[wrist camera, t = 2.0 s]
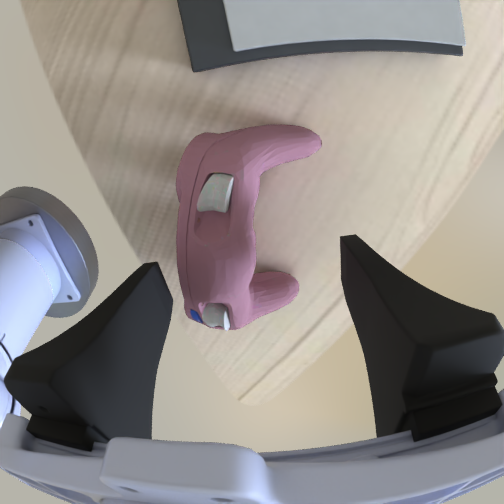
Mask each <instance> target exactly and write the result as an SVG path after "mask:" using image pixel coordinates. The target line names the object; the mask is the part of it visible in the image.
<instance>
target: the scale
mask: <svg viewBox="0 0 504 504" xmlns="http://www.w3.org/2000/svg"><path fill="white" fill-rule="evenodd" d="M177 1H178V6H179V11H180V15H181V20H182V25H183V29H184V34H185V39H186V43H187V48H188V52H189V57H190V61H191V66H192V70H193V72H201V71H206V70H210V69H215V68H220V67H224V66H230V65H235V64H240V63H246V62H252V61H258V60H265V59H272V58H279V57H287V56H296V55H306V54H318V53H333V52H357V51H394V52H417V53H432V54H443V55H455V56H463V50H462V46H466V41H465V33H464V26H463V19H462V13H461V7H460V2H459V0H177Z"/></svg>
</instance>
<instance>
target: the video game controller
mask: <svg viewBox="0 0 504 504" xmlns="http://www.w3.org/2000/svg"><path fill="white" fill-rule="evenodd" d="M321 146H322V140H321V138H320V137H319V135H317V134H316V133H314V132H313V131H311V130H309V129H307V128H304V127H301V126H295V125H277V124H271V125H263V126H255V127H248V128H244V129H239V130H235V131H230V132H226V133H221V134H216V133H202V134H200V135H198V136H196V137H195V138H194V139H193V140H192V141H191V142H190V143H189V144H188V146H187V147H186V149H185V151H184V153H183V155H182V158H181V161H180V164H179V167H178V170H177V177H176V190H177V195H178V199H179V202H180V206H179V212H178V223H177V237H176V245H177V267H178V274H179V280H180V285H181V289H182V293H183V297H184V308H185V312H186V315H187V316H188V318H190V319H192V320H194V321H197V322H199V323H201V324H204V325H206V326H208V327H210V328H215V329H225V330H226V331H227V330H236V329H240V328H242V327H244V326H245V325H247V324H249V323H250V322H252V321H254V320H255V319H257V318H259V317H261V316H263V315H266V314H268V313H270V312H273V311H275V310H278V309H280V308H282V307H283V306H285V305H287V304H289V303H290V302H291V301H292V300H293V299H294V298H295V297H296V296H297V294H298V291H299V283H298V281H297V280H296V279H295V278H294V277H293V276H291V275H290V274H286V273H283V272H261V273H255V274H253V273H254V270H255V266H256V247H255V245H256V235H255V232H254V230H253V217H254V209H255V204H256V201H257V198H258V194H259V188H260V178H259V177H260V175H261V174H262V173H263V172H265V171H267V170H268V169H270V168H273V167H275V166H277V165H280V164H282V163H286V162H290V161H294V160H298V159H302V158H306V157H309V156H310V155H312V154H313V153H315V152H316V151H318V150H319V149H320V148H321Z"/></svg>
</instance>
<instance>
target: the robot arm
mask: <svg viewBox="0 0 504 504" xmlns="http://www.w3.org/2000/svg"><path fill="white" fill-rule="evenodd" d="M31 221H32V222H33V223H32V222H31ZM340 249H341V281H342V285H343V290H344V294H345V299H346V302H347V305H348V308H349V311H350V314H351V317H352V320H353V322H354V325H355V328H356V331H357V334H358V337H359V340H360V343H361V346H362V349H363V353H364V357H365V362H366V367H367V372H368V377H369V383H370V389H371V395H372V402H373V409H374V416H375V424H376V434H377V438H374V439H369V440H364V441H358V442H353V443H347V444H341V445H334V446H327V447H320V448H311V449H302V450H293V451H279V452H264V453H256V452H254V451H253V450H252V449H250V448H246V447H242V446H238V445H234V444H225V443H213V442H182V441H164V440H152V436H151V434H152V408H153V398H154V388H155V380H156V374H157V369H158V364H159V361H160V357H161V353H162V350H163V346H164V342H165V339H166V335H167V332H168V328H169V324H170V320H171V314H172V306H173V298H172V296H171V293H170V291H169V289H168V286H167V284H166V281H165V279H164V276H163V274H162V272H161V269H160V267H159V264H158V262H151V263H144V264H143V265H142V266H140V267H139V268H138V269H137V270H136V271H135V272H134V273H133V274H132V275H130V276H129V277H128V278H127V279H126V280H125V281H124V282H123V283H122V284H121V285H120V286H119V287H118V288H117V289H116V290H115V291H114V292H113V293H112V294H111V295H110V296H108V297H107V298H106V299H105V300H104V301H103V302H102V303H101V304H100V305H99V306H98V307H96V308H95V309H94V310H93V311H92V312H91V313H89V314H88V315H87V316H86V317H84V318H83V319H82V320H81V321H79V322H78V323H77V324H75V325H74V326H72V327H71V328H69V329H68V330H66V331H65V332H63V333H62V334H60V335H59V336H57V337H56V338H54V339H52V340H51V341H49V342H47V343H45V344H43V345H42V346H40V347H38V348H36V349H34V350H31V351H29V352H27V353H25V354H23V355H22V353H23V351H24V350H25V348H26V346H27V344H28V343H29V341H30V339H31V337H32V335H33V334H34V332H35V330H36V329H37V327H38V325H39V324H40V322H41V320H42V319H43V317H44V315H45V314H46V312H47V311H48V309H49V307H50V306H51V304H52V303H64V302H77V301H79V300H80V298H81V295H80V293H79V291H78V289H77V288H76V286H75V284H74V282H73V280H72V279H71V277H70V275H69V273H68V271H67V269H66V267H65V265H64V264H63V262H62V260H61V258H60V256H59V254H58V252H57V250H56V248H55V246H54V244H53V242H52V240H51V237H50V235H49V233H48V231H47V229H46V227H45V225H44V222H43V220H42V218H41V216H40V215H39V214H32V215H29V216H26V217H23V218H20V219H17V220H14V221H11V222H8V223H5V224H2V225H0V468H1V469H3V470H4V471H6V472H7V473H9V474H10V475H12V476H13V477H15V478H17V479H18V480H20V481H22V482H23V483H25V484H27V485H29V486H31V487H33V488H35V489H37V490H40V491H42V492H45V493H47V494H50V495H52V496H54V497H57V498H59V499H62V500H64V501H67V502H70V503H72V504H441V503H444V502H446V501H449V500H451V499H454V498H456V497H458V496H461V495H463V494H466V493H468V492H470V491H472V490H475V489H477V488H479V487H481V486H483V485H485V484H487V483H490V482H492V481H494V480H496V479H498V478H500V477H502V476H504V389H503V390H501V391H500V392H499V393H497V390H496V388H495V385H496V384H497V378H496V376H495V374H494V371H495V370H496V368H497V366H498V364H499V363H500V361H501V359H502V357H503V356H504V329H503V327H502V326H501V324H500V323H499V321H498V320H497V318H496V316H495V315H494V314H492V313H489V312H485V311H482V310H479V309H475V308H472V307H469V306H466V305H464V304H461V303H458V302H455V301H453V300H451V299H448V298H446V297H444V296H442V295H440V294H438V293H436V292H434V291H432V290H430V289H428V288H426V287H424V286H423V285H421V284H419V283H418V282H416V281H414V280H413V279H411V278H410V277H408V276H406V275H405V274H404V273H402V272H401V271H399V270H398V269H397V268H395V267H394V266H393V265H391V264H390V263H389V262H387V261H386V260H385V259H384V258H382V257H381V256H380V255H379V254H378V253H376V252H375V251H374V250H373V249H372V248H371V247H369V246H368V245H367V244H366V243H365V242H364V241H363V240H362V239H360V238H359V237H358V236H357V235H356V234H355V235H348V236H340ZM21 405H22V406H23V407H24V408H25V409H26V410H27V411H29V412H30V413H31V414H32V416H31V418H30V421H29V420H28V419H26V418H24V417H22V416H20V410H21Z"/></svg>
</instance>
